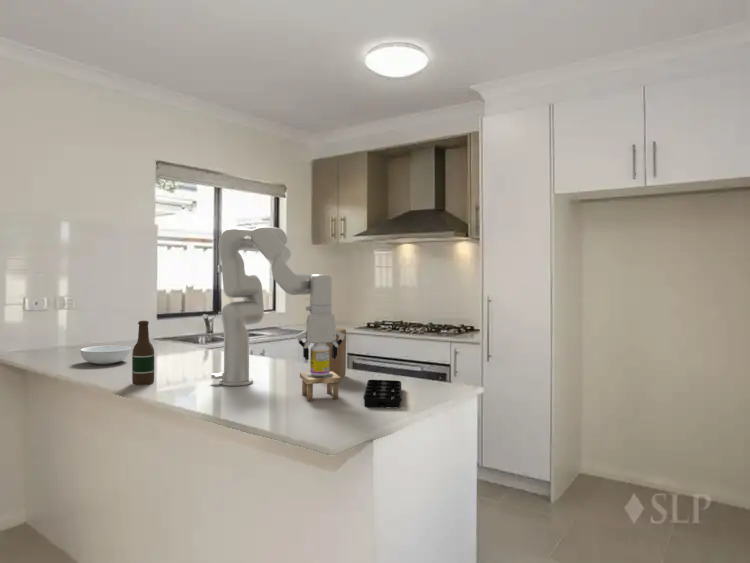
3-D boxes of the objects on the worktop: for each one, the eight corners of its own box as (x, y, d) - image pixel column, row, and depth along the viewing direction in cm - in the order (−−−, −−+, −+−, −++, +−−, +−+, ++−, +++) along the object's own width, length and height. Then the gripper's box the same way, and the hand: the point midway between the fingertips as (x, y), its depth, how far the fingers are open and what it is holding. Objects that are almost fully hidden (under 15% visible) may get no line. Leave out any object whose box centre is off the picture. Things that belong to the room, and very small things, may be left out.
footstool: (306, 402, 178) (306, 379, 178) (299, 394, 190) (299, 372, 189) (341, 399, 182) (341, 377, 182) (332, 391, 193) (332, 370, 193)
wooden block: (339, 380, 213) (340, 331, 213) (315, 379, 215) (316, 330, 215) (346, 376, 223) (346, 328, 223) (323, 374, 225) (323, 327, 225)
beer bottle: (158, 382, 206) (159, 320, 206) (142, 386, 199) (142, 322, 198) (144, 380, 209) (144, 319, 209) (127, 384, 202) (127, 321, 202)
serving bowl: (117, 367, 236) (117, 352, 236) (70, 366, 236) (70, 351, 236) (138, 359, 257) (138, 345, 257) (95, 359, 257) (95, 344, 257)
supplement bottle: (310, 373, 189) (310, 336, 189) (329, 372, 189) (329, 336, 189) (309, 376, 182) (310, 339, 182) (329, 376, 183) (329, 339, 182)
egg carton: (398, 388, 202) (398, 378, 202) (418, 409, 173) (418, 397, 173) (353, 389, 199) (353, 379, 199) (365, 410, 170) (365, 399, 170)
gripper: (298, 311, 179) (297, 361, 179) (347, 310, 185) (347, 359, 185) (294, 309, 186) (293, 358, 186) (341, 308, 192) (341, 356, 192)
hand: (320, 358), depth 186 cm, fingers open, 9 cm apart
